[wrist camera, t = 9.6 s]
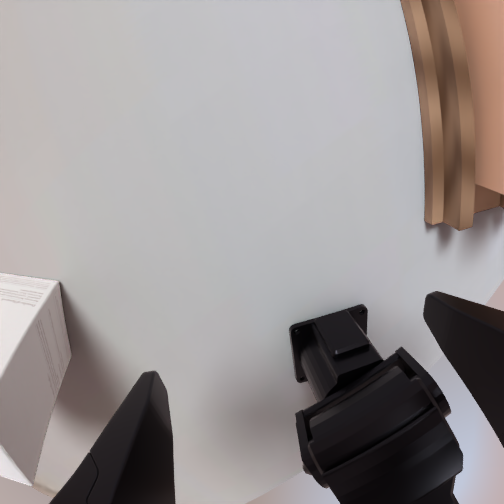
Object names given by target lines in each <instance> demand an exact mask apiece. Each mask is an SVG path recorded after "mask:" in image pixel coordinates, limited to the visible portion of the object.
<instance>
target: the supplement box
mask: <svg viewBox="0 0 504 504" xmlns="http://www.w3.org/2000/svg"><path fill="white" fill-rule="evenodd" d="M71 357H72V354H71V350H70V344H69V339H68V334H67V329H66V324H65V318H64V312H63V306H62V299H61V293H60V285H59V281H54V280H47V279H40V278H33V277H26V276H19V275H13V274H6V273H0V476H2V477H5V478H7V479H11V480H13V481H17V482H20V483H23V484H26V485H29V486H33V484H34V479H35V475H36V471H37V467H38V463H39V459H40V455H41V451H42V447H43V443H44V439H45V435H46V432H47V428H48V425H49V421H50V418H51V414H52V411H53V408H54V405H55V402H56V398H57V395H58V392H59V389H60V386H61V383H62V380H63V378H64V375H65V373H66V370H67V367H68V364H69V361H70V359H71Z"/></svg>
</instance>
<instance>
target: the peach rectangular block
mask: <svg viewBox="0 0 504 504" xmlns="http://www.w3.org/2000/svg"><path fill="white" fill-rule="evenodd" d="M454 3H455V6H456V10H457V14H458V18H459V22H460V27H461V31H462V36H463V40H464V46H465V51H466V56H467V62H468V69H469V76H470V83H471V92H472V101H473V113H474V128H475V184H478V185H480V186H483V187H485V188H488V189H491V190H493V191H496V192H498V193H501V194H503V195H504V0H454Z"/></svg>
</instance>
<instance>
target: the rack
mask: <svg viewBox="0 0 504 504" xmlns="http://www.w3.org/2000/svg"><path fill="white" fill-rule="evenodd" d="M401 4H402V8H403V12H404V16H405V20H406V25H407V29H408V34H409V38H410V43H411V48H412V54H413V59H414V65H415V71H416V78H417V85H418V92H419V100H420V109H421V119H422V131H423V146H424V167H425V221H426V222H428V223H430V224H431V225H434V224H437V223H441V222H444V223H446V224H448V225H449V226H451V227H453V228H455V229H457V230H458V231H460V230H464V229H467V228H470V227H472V225H473V214H474V213H477V212H481V211H484V210H488V209H491V208H495V207H498V206H500V207H502V208H504V195H503V194H501V193H498V192H496V191H493V190H491V189H488V188H485V187H483V186H480V185H478V184H475V128H474V113H473V101H472V92H471V83H470V76H469V69H468V62H467V56H466V51H465V46H464V40H463V36H462V31H461V27H460V22H459V18H458V14H457V10H456V6H455V3H454V0H401Z"/></svg>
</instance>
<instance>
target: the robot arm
mask: <svg viewBox="0 0 504 504" xmlns="http://www.w3.org/2000/svg"><path fill="white" fill-rule="evenodd" d="M361 310H362V311H361ZM360 311H361V312H360ZM367 313H368V310H367V308H366V307H365V306H364V305H363V304H361V305H357V306H354V307H351V308H348V309H345V310H341V311H338V312H335V313H331V314H328V315H325V316H321V317H318V318H314V319H311V320H307V321H304V322H300V323H297V324H294V325H292V326H291V327H290V328H289V333H290V340H291V347H292V354H293V361H294V369H295V376H296V379H297V382H299V383H302V382H306V381H308V382H309V384H310V386H311V388H312V391H313V393H314V395H315V398H316V400H317V402H318V403H316V404H314V405H312V406H311V407H309V408H307V409H305V410H301V411H299V412H297V413H295V415H296V421H297V423H296V427H297V433H298V439H299V445H300V452H301V458H302V461H303V469H304V471H305V473H307V474H309V475H312V476H313V477H314V479H315V480H316V481H317V482H318V483H319V484H320V485H321V486H322V487H324V488H328V487H330V489H331V490H332V492H333V493H334V495H335V496H336V498H337V499H338V501H339V502H340V504H459V503H458V501H457V499H456V498H455V496H454V494H453V489H454V483H455V477H456V475H457V474H459V473H460V472H461V471H462V469H463V453H462V451H461V450H460V448H459V443H458V441H457V439H456V437H455V436H454V434H453V432H452V430H451V428H450V426H449V425H448V423H447V421H446V419H445V417H446V416H448V415H449V414H450V413H451V409H450V406H449V404H448V402H447V400H446V398H445V396H444V394H443V392H442V391H441V389H440V388H439V386H438V385H437V383H436V382H435V381H434V379H433V378H432V377H431V376H430V375H429V374H428V372H427V371H426V370H425V369H424V368H423V367H422V366H421V365H420V364H419V363H418V362H417V361H416V360H415V359H414V358H413V357H412V356H411V355H410V354H409V353H408V352H407V351H406V350H405V349H404V348H403V347H400V348H399V349H398V350H396V351H395V352H396V353H394V354H393V355H391V356H390V357H388V358H387V359H386V360H383V359H382V357H381V356H380V354H379V353H378V352H377V350H376V349H375V347H374V346H373V345H372V343H371V342H370V340H369V339H368V337H367ZM423 316H424V320H425V322H426V323H427V325H428V327H429V329H430V330H431V332H432V334H433V335H434V337H435V339H436V341H437V343H438V344H439V346H440V348H441V350H442V351H443V353H444V354H445V356H446V357H447V359H448V360H449V362H450V363H451V365H452V366H453V367H454V369H455V370H456V372H457V373H458V375H459V376H460V378H461V379H462V380H463V382H464V384H465V385H466V387H467V388H468V389H469V391H470V393H471V394H472V396H473V397H474V399H475V401H476V402H477V404H478V405H479V407H480V408H481V410H482V411H483V413H484V415H485V416H486V418H487V420H488V421H489V423H490V425H491V426H492V428H493V430H494V431H495V433H496V435H497V436H498V438H499V440H500V442H501V444H502V445H503V447H504V311H501V310H497V309H494V308H491V307H488V306H485V305H481V304H478V303H475V302H472V301H468V300H465V299H462V298H458V297H455V296H452V295H449V294H445V293H442V292H439V291H435V292H432V293H430V294H428V295H427V296H426V298H425V305H424V312H423ZM297 329H298V330H297ZM295 330H297V331H296V332H294V331H295ZM301 377H302V378H301ZM49 504H175V485H174V459H173V433H172V426H171V418H170V410H169V402H168V394H167V390H166V388H165V386H164V384H163V382H162V380H161V378H160V376H159V374H158V373H157V372H156V371H149V372H144V373H143V374H142V375H141V376H140V378H139V379H138V381H137V382H136V384H135V385H134V386H133V388H132V389H131V391H130V392H129V394H128V395H127V397H126V398H125V400H124V401H123V402H122V404H121V405H120V407H119V408H118V410H117V411H116V413H115V414H114V416H113V417H112V419H111V420H110V421H109V423H108V424H107V426H106V427H105V429H104V430H103V432H102V433H101V435H100V436H99V438H98V439H97V441H96V442H95V444H94V445H93V447H92V448H91V450H90V453H88V454H87V455H86V457H85V458H84V460H83V461H82V463H81V464H80V466H79V467H78V468H77V470H76V471H75V473H74V474H73V475H72V476H71V478H70V479H69V480H68V481H67V483H66V484H65V485H64V486H63V488H62V489H61V490H60V491H59V492H58V494H57V495H56V496H55V497H54V498H53V499H52V501H51V502H50V503H49Z"/></svg>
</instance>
